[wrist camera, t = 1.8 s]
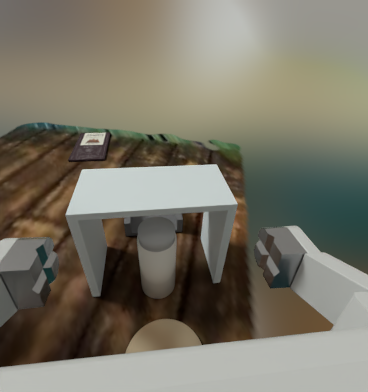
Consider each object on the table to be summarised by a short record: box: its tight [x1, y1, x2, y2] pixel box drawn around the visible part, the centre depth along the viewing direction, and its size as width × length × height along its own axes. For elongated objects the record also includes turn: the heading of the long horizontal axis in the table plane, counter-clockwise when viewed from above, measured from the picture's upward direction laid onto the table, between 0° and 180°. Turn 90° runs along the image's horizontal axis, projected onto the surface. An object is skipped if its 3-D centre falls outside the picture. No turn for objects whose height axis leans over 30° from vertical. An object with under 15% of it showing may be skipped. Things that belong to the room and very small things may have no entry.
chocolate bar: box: [68, 133, 110, 162], centre depth 70 cm, size 9×1×18 cm
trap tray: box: [124, 213, 183, 236], centre depth 46 cm, size 10×10×3 cm
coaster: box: [125, 319, 202, 354], centre depth 26 cm, size 9×9×1 cm
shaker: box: [137, 217, 177, 299], centre depth 31 cm, size 5×5×11 cm
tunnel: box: [66, 165, 238, 297], centre depth 33 cm, size 9×18×15 cm, turn 99°
